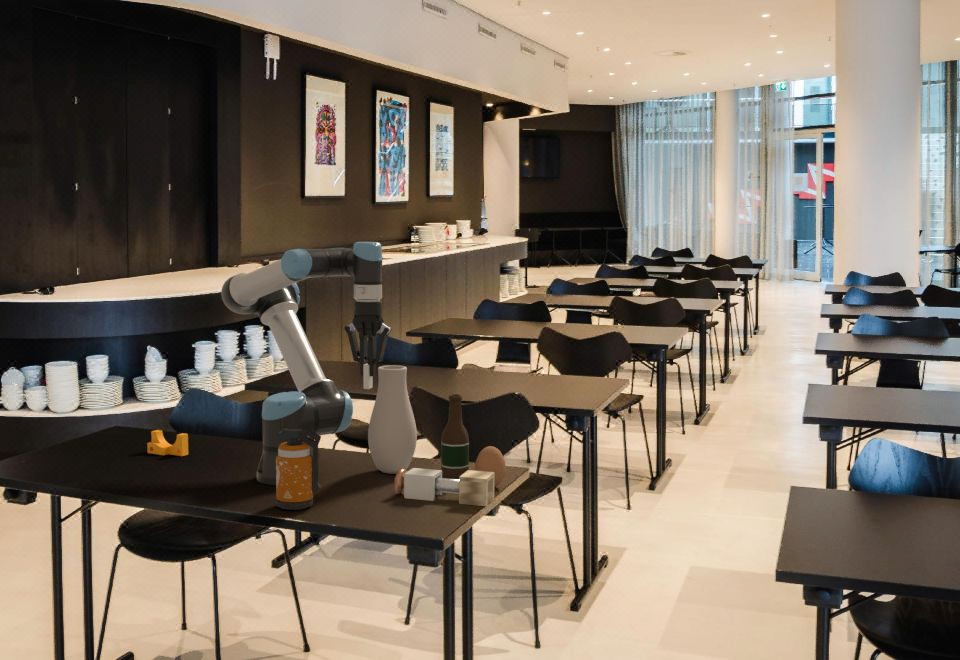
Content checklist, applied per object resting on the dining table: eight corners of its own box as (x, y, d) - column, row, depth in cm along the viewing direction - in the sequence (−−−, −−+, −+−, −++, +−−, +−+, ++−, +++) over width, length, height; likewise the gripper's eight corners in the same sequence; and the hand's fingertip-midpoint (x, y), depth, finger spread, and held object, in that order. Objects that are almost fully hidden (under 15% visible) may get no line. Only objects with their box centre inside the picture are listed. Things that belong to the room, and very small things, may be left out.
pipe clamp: (147, 453, 314) (147, 432, 314) (157, 450, 318) (157, 429, 318) (178, 457, 309) (177, 436, 308) (188, 454, 313) (187, 433, 312)
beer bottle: (465, 485, 281) (466, 398, 278) (437, 483, 282) (438, 396, 279) (471, 478, 288) (472, 393, 285) (444, 476, 290) (444, 391, 287)
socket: (459, 503, 263) (459, 476, 263) (467, 496, 270) (467, 470, 269) (486, 506, 261) (486, 479, 260) (494, 498, 268) (494, 472, 267)
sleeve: (404, 498, 268) (404, 473, 267) (413, 491, 274) (413, 467, 273) (433, 500, 266) (433, 476, 265) (441, 494, 272) (442, 470, 271)
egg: (509, 490, 276) (510, 448, 275) (479, 492, 274) (480, 450, 273) (500, 482, 284) (500, 442, 283) (471, 484, 282) (471, 443, 281)
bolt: (394, 496, 269) (394, 472, 268) (403, 489, 275) (403, 466, 274) (481, 504, 262) (481, 479, 261) (488, 498, 268) (489, 473, 267)
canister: (278, 501, 263) (277, 424, 261) (322, 501, 264) (322, 424, 262) (274, 512, 254) (273, 431, 252) (320, 511, 255) (319, 431, 253)
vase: (370, 478, 287) (370, 371, 283) (365, 466, 300) (365, 364, 297) (420, 476, 290) (420, 370, 286) (412, 464, 303) (413, 363, 299)
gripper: (339, 300, 273) (339, 388, 276) (385, 302, 270) (385, 391, 272) (351, 298, 281) (351, 384, 283) (396, 300, 277) (395, 387, 279)
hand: (368, 388), depth 278 cm, fingers closed
